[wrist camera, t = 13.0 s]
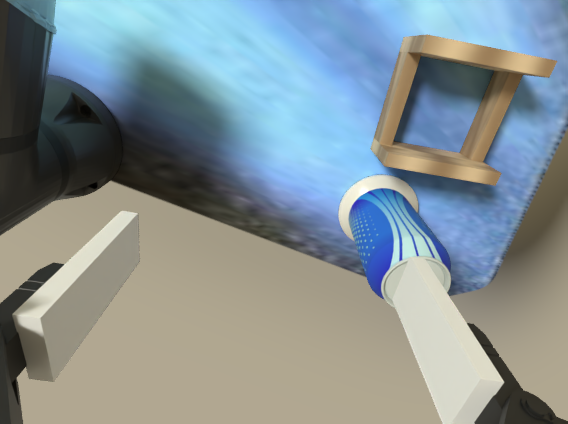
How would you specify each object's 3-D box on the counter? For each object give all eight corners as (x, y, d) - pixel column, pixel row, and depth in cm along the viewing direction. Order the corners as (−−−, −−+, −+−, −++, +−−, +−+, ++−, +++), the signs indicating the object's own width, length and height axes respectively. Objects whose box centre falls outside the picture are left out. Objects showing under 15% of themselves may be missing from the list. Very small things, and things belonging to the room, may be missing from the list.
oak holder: (370, 148, 43) (384, 166, 36) (403, 37, 37) (427, 34, 31) (465, 165, 43) (495, 185, 37) (512, 59, 38) (557, 61, 31)
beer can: (405, 235, 48) (455, 316, 33) (347, 240, 48) (371, 321, 34) (409, 181, 44) (467, 245, 29) (346, 187, 44) (373, 252, 30)
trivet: (330, 237, 49) (330, 239, 48) (349, 167, 44) (350, 169, 43) (401, 249, 49) (403, 251, 49) (428, 181, 44) (430, 183, 44)
